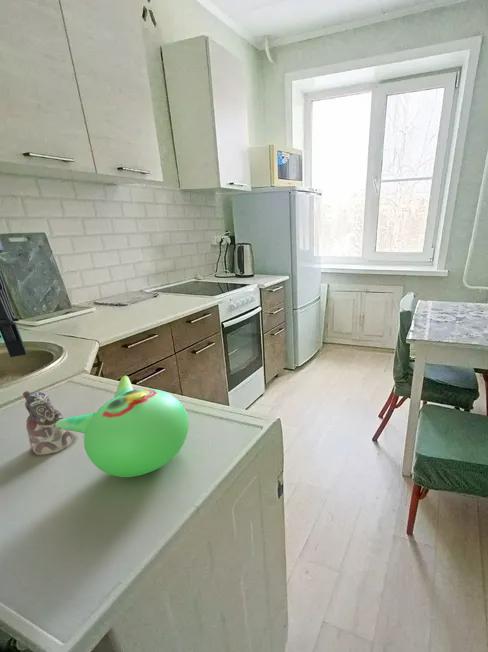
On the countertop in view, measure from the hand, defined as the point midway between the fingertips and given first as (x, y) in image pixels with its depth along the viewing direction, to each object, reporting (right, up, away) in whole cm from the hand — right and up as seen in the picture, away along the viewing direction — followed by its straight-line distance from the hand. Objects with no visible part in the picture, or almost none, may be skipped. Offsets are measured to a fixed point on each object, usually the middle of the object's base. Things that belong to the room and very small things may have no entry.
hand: (18, 354), depth 73 cm
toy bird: (+29, -21, -7) cm, 36 cm away
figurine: (+7, -19, 0) cm, 20 cm away
